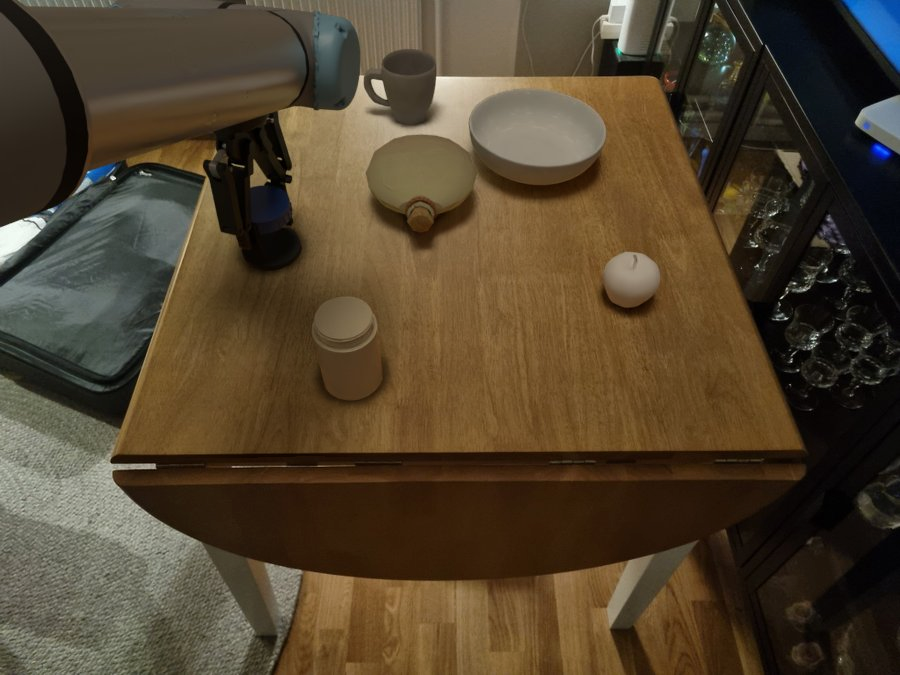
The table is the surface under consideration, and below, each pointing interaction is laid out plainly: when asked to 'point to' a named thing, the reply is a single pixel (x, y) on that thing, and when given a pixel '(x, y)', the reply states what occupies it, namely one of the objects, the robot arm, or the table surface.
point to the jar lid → (269, 208)
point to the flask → (421, 177)
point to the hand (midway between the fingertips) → (270, 241)
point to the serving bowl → (536, 135)
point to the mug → (405, 84)
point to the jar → (348, 347)
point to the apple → (631, 279)
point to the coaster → (279, 249)
